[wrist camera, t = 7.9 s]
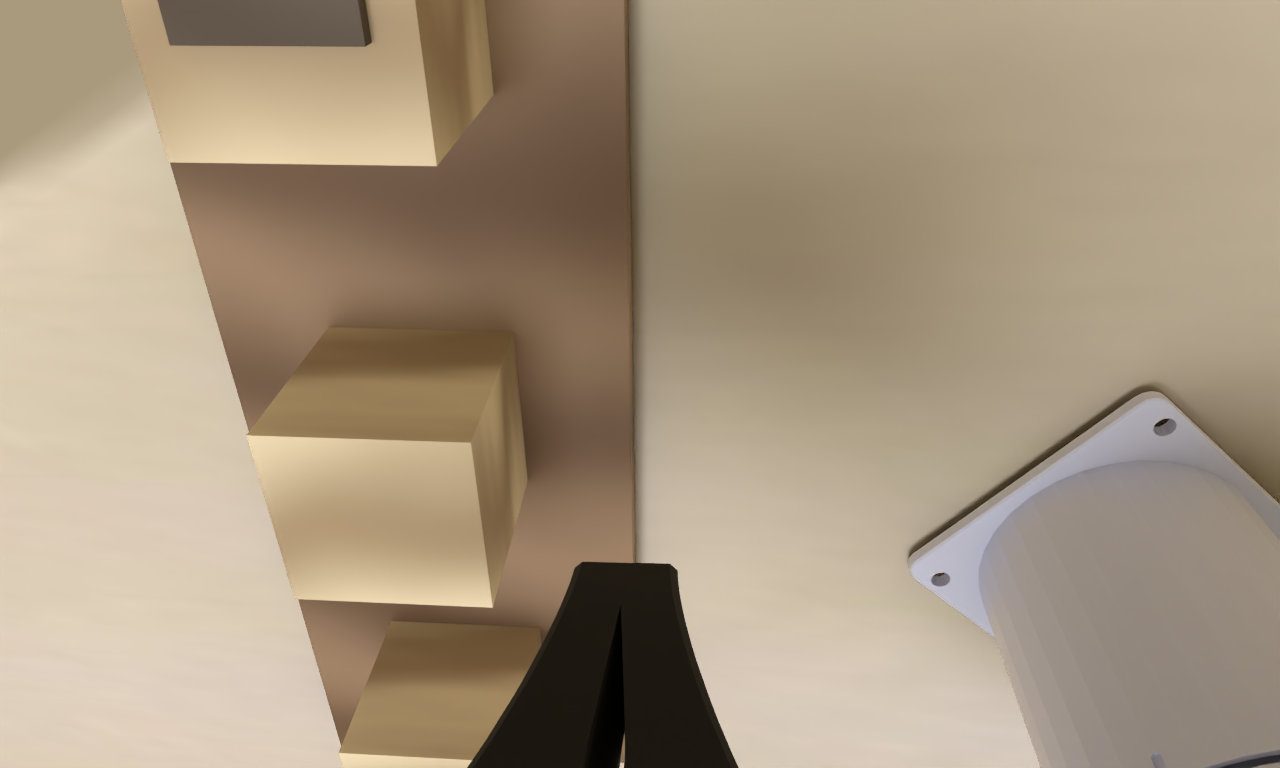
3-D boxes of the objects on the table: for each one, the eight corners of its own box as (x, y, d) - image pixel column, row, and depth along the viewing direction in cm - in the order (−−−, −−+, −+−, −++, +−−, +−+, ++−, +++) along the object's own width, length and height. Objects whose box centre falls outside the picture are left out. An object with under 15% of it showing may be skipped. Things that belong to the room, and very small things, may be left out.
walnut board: (75, -273, 16) (40, -279, 15) (624, -282, 16) (619, -288, 15) (351, 722, 31) (341, 747, 30) (637, 737, 30) (635, 763, 30)
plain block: (328, 327, 21) (246, 435, 18) (513, 331, 21) (471, 443, 17) (360, 475, 24) (294, 599, 20) (527, 481, 24) (492, 607, 20)
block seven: (391, 620, 27) (334, 763, 23) (540, 627, 26) (509, 772, 22) (412, 718, 29) (364, 862, 25) (549, 725, 29) (522, 872, 25)
